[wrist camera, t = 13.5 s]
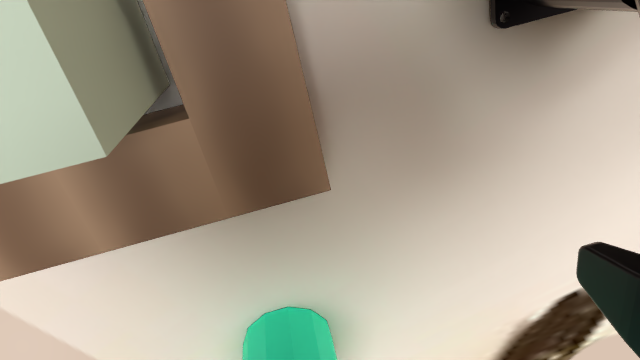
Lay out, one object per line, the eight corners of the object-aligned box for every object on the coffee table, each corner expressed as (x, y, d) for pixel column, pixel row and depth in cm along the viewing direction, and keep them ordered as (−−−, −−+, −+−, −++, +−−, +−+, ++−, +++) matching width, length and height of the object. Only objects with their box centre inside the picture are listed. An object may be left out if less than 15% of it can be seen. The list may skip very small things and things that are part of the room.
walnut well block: (224, -229, 14) (218, -282, 11) (320, 165, 21) (331, 190, 19) (-234, -126, 13) (-355, -156, 11) (27, 245, 21) (-6, 282, 18)
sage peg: (133, -9, 16) (22, -9, 8) (169, 84, 18) (106, 156, 10) (38, 14, 16) (-166, 36, 8) (85, 105, 18) (-47, 196, 10)
